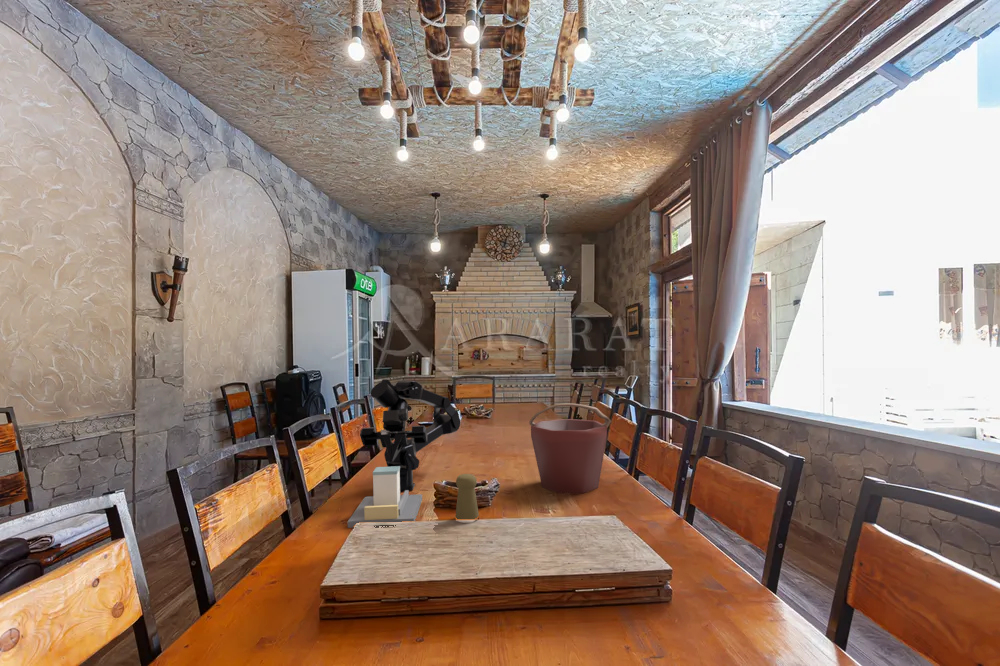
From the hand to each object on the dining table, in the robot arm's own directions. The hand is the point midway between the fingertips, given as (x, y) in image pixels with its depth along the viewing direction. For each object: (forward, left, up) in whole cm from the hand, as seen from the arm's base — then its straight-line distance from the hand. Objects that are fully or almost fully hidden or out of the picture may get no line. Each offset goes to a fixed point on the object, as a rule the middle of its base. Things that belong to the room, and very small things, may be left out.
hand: (391, 461), depth 135 cm
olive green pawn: (+14, +21, -12) cm, 28 cm away
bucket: (-10, +52, -12) cm, 54 cm away
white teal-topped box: (+8, 0, -10) cm, 13 cm away
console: (+7, 0, -12) cm, 14 cm away
